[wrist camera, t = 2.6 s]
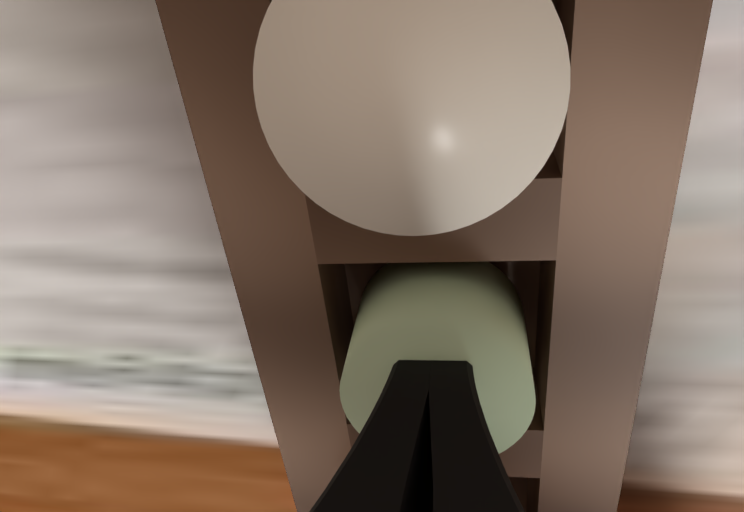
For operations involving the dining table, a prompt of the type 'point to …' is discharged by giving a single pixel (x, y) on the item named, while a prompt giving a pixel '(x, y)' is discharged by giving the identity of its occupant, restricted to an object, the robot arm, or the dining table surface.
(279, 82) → the cream button
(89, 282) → the dining table surface
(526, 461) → the button panel
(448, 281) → the sage button
